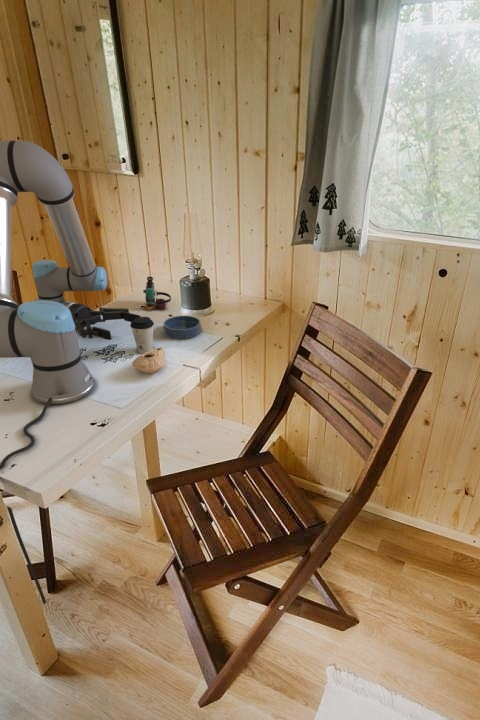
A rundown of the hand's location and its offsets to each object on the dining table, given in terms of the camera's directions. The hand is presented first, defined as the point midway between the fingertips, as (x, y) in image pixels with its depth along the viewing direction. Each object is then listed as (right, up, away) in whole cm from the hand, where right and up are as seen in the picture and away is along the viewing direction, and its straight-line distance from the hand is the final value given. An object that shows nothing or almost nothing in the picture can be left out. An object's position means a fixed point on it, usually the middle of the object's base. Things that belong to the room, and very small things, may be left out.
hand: (125, 327), depth 145 cm
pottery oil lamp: (+11, -13, -9) cm, 20 cm away
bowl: (+16, 0, +12) cm, 20 cm away
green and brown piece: (+3, +13, +32) cm, 34 cm away
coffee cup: (+6, -7, +1) cm, 9 cm away
